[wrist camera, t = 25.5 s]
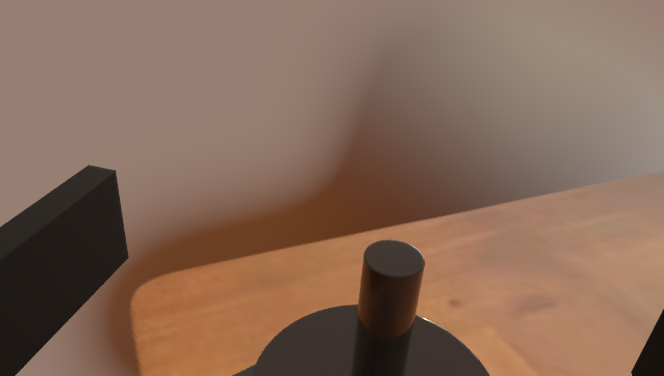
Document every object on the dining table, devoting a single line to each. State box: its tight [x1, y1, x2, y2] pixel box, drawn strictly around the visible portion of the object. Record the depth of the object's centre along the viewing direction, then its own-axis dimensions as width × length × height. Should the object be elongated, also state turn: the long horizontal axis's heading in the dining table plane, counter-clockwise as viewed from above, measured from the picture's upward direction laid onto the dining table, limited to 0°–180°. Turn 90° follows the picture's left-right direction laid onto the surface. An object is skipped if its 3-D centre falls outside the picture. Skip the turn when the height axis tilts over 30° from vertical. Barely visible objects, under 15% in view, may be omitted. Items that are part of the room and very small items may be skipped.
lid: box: [251, 240, 490, 376], centre depth 27 cm, size 14×14×10 cm
